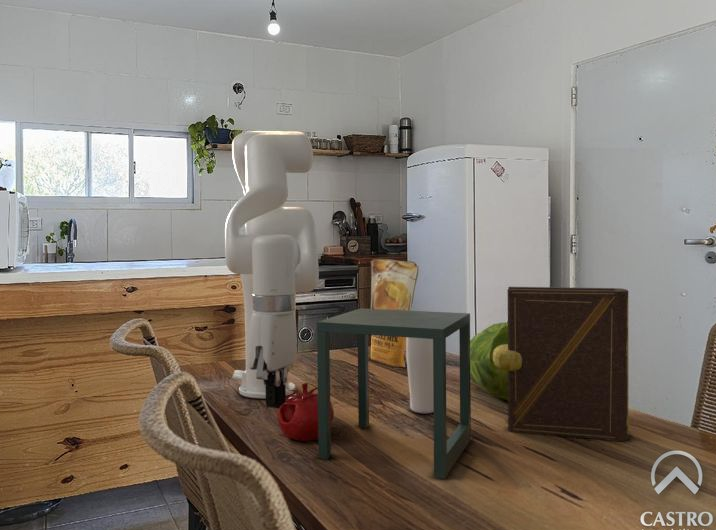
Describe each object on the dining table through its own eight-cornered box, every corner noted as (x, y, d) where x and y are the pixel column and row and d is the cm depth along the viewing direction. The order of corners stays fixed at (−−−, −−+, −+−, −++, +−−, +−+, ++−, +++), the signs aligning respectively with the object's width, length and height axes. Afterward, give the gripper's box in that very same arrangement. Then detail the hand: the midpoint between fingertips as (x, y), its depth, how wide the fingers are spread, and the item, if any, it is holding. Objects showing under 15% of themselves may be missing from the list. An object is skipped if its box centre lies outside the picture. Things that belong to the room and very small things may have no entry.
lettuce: (480, 410, 139) (514, 353, 144) (545, 421, 117) (582, 354, 122) (427, 366, 137) (463, 310, 142) (483, 370, 115) (523, 303, 120)
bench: (318, 458, 94) (316, 321, 93) (361, 424, 110) (360, 308, 109) (444, 479, 85) (443, 329, 85) (470, 439, 101) (470, 313, 101)
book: (623, 428, 106) (623, 287, 105) (631, 444, 98) (631, 292, 97) (494, 417, 113) (493, 285, 113) (492, 431, 105) (491, 290, 105)
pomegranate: (332, 425, 110) (332, 375, 110) (335, 444, 100) (334, 389, 100) (279, 426, 110) (278, 376, 109) (276, 445, 100) (275, 390, 99)
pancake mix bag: (381, 354, 173) (380, 258, 173) (421, 367, 157) (420, 260, 156) (361, 357, 170) (360, 259, 169) (400, 370, 153) (399, 261, 153)
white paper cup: (441, 416, 114) (440, 338, 114) (405, 414, 116) (404, 337, 115) (441, 406, 121) (440, 332, 120) (407, 404, 122) (406, 331, 122)
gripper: (277, 299, 115) (279, 394, 115) (232, 308, 102) (234, 415, 102) (312, 301, 112) (313, 398, 112) (270, 310, 98) (271, 421, 99)
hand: (275, 406), depth 107 cm, fingers closed
